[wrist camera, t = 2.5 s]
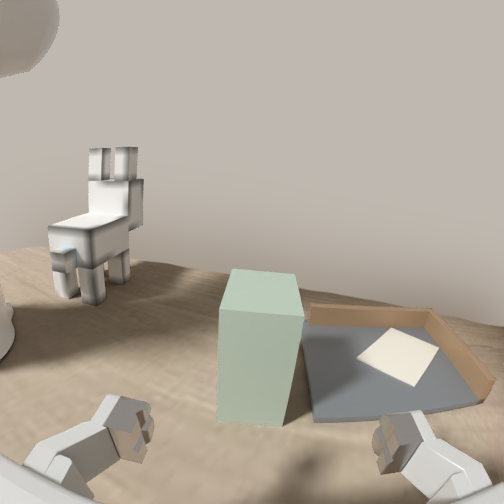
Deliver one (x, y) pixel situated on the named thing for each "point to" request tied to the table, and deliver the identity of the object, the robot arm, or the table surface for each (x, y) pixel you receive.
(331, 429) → the table surface
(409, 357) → the tray
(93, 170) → the toy llama
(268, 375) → the sage block
